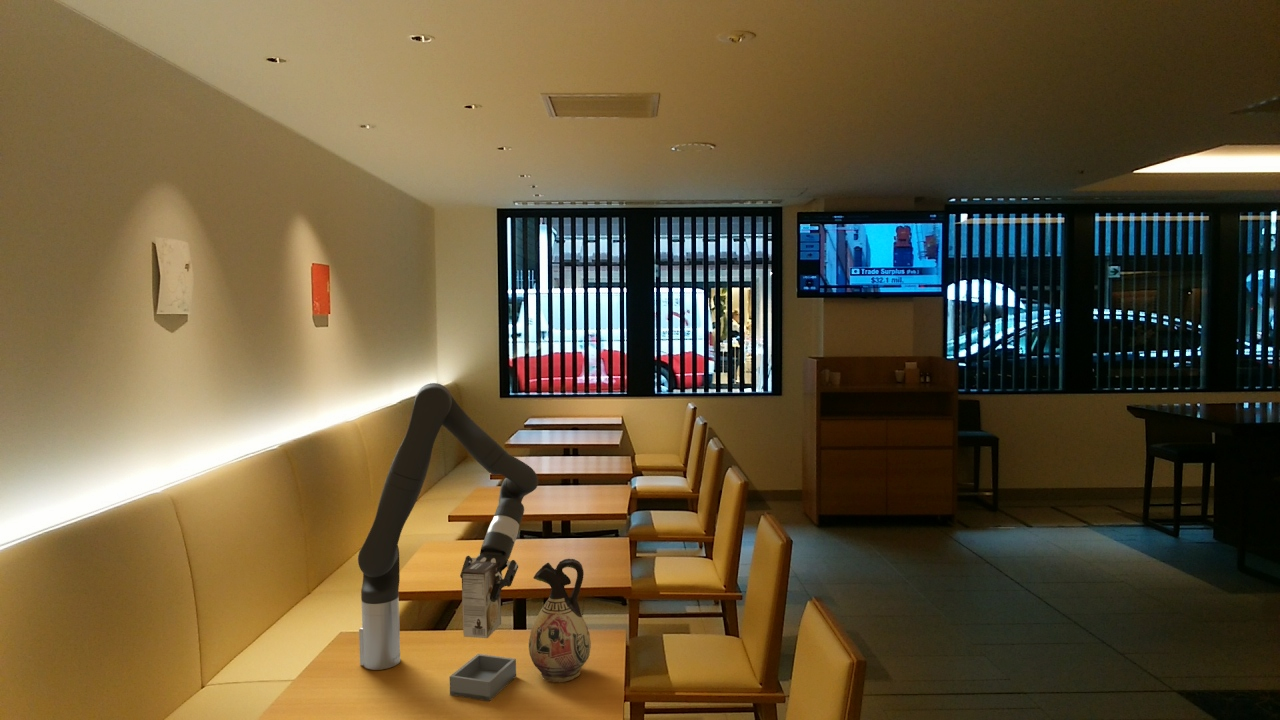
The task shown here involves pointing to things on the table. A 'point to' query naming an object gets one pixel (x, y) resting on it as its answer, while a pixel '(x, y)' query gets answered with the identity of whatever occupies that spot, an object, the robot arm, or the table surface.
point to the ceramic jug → (560, 627)
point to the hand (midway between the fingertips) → (478, 598)
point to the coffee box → (480, 600)
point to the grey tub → (482, 677)
